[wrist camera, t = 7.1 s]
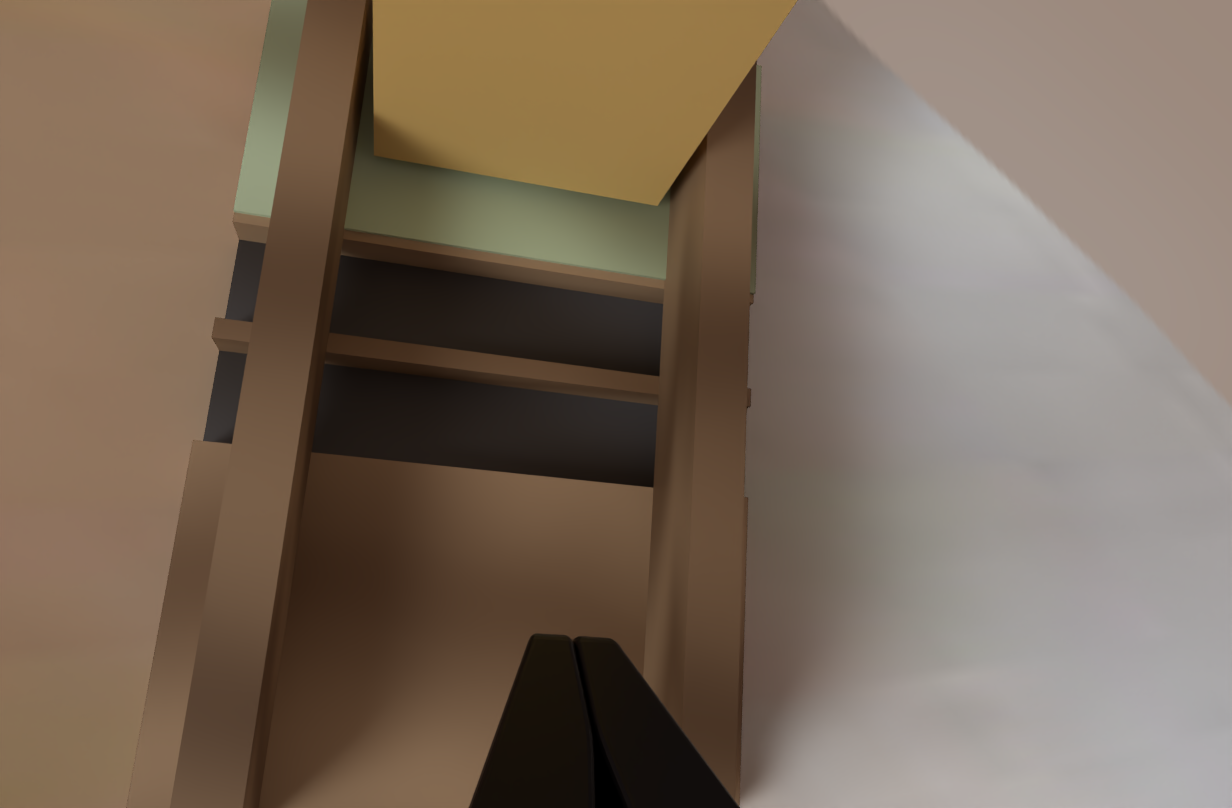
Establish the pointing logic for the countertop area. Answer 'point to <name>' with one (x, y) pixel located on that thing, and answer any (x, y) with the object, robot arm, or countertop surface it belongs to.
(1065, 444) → the countertop surface
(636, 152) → the block
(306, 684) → the board
